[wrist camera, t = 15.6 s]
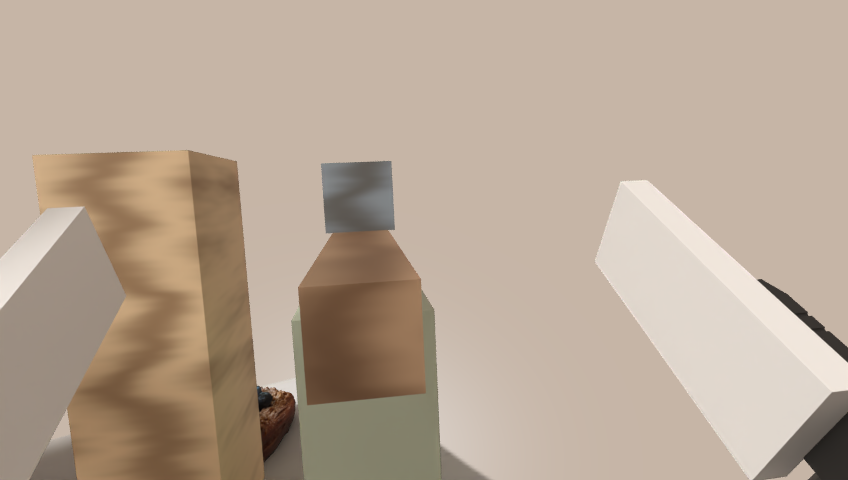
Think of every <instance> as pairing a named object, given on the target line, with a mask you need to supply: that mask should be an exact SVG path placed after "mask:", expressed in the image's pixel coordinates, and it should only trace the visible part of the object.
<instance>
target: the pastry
mask: <svg viewBox="0 0 848 480" xmlns="http://www.w3.org/2000/svg"><path fill="white" fill-rule="evenodd" d="M257 395H258V407H259V418H260V429H261V441H262V452H263V463H264V462H265V460H266V459H267V458H268V457H269V456H270V455H271V454H272V453H273V452H274V450H275V449H276V448H277V446H278V445H279V443H280V442H281V440H282V438H283V437H284V435H285V434H286V433H288V431H289V427H290V425H291V423H292V421H293V418H294V414H295V403H296V402H295V399H294V396H293V395H292V394H291V393H289V392H285V391H282V390H280V391H278V390H277V389H276V388H274V387H273V388H270V389H269V388H268V387H266V388H264V389H263V388H262V387H260V386H257Z"/></svg>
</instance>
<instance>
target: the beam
mask: <svg viewBox="0 0 848 480" xmlns="http://www.w3.org/2000/svg"><path fill="white" fill-rule="evenodd" d="M321 168H322V183H323V198H324V213H325V227H326V233H333V234H332V235H331V237H330V238H329V240H328V241H327V243H326V245H325V246H324V248H323V249H322V251H321V252H320V254H319V256H318V257H317V259H316V260H315V262H314V264H313V265H312V267H311V268H310V270H309V271H308V273H307V275H306V276H305V278H304V279H303V281H302V282H301V284H300V286H299V287H298V291H299V306H300V319H301V332H302V345H303V359H304V372H305V385H306V398H307V405H317V404H326V403H336V402H346V401H356V400H366V399H376V398H385V397H395V396H405V395H415V394H425V393H426V383H425V361H424V339H423V316H422V294H421V279H420V277H419V276H418V274H417V273H416V271H415V270H414V268H413V267H412V265H411V264H410V262H409V261H408V259H407V258H406V256H405V255H404V253H403V252H402V250H401V249H400V247H399V246H398V244H397V243H396V241H395V240H394V238H393V237H392V235H391V234H390V232H389V231H388V230H394V229H395V226H394V207H393V188H392V187H393V186H392V168H391V161H382V162H381V161H380V162H354V163H327V164H326V163H325V164H321Z"/></svg>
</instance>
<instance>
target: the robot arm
mask: <svg viewBox="0 0 848 480" xmlns="http://www.w3.org/2000/svg"><path fill="white" fill-rule="evenodd" d="M595 263H596V264H597V266H598V267H599V268H600V270H601V271H602V273H603V274H604V275H605V277H606V278H607V280H608V281H609V282H610V284H611V285H612V287H613V288H614V289H615V291H616V292H617V294H618V295H619V297H620V298H621V299H622V301H623V302H624V304H625V305H626V306H627V308H628V309H629V311H630V312H631V314H632V315H633V316H634V318H635V319H636V321H637V322H638V323H639V325H640V326H641V328H642V329H643V330H644V332H645V333H646V335H647V336H648V337H649V339H650V340H651V342H652V343H653V345H654V346H655V347H656V349H657V350H658V351H659V353H660V354H661V356H662V357H663V359H664V360H665V361H666V363H667V364H668V366H669V367H670V368H671V370H672V371H673V373H674V374H675V376H676V377H677V378H678V380H679V381H680V383H681V384H682V385H683V387H684V388H685V390H686V391H687V392H688V394H689V395H690V397H691V398H692V400H693V401H694V402H695V404H696V405H697V407H698V408H699V409H700V411H701V412H702V414H703V415H704V416H705V418H706V419H707V421H708V422H709V424H710V425H711V426H712V428H713V429H714V431H715V432H716V433H717V435H718V436H719V438H720V439H721V440H722V442H723V443H724V445H725V446H726V447H727V449H728V450H729V452H730V453H731V455H732V456H733V457H734V459H735V460H736V462H737V463H738V464H739V466H740V467H741V468H742V470H743V471H744V473H745V474H746V476H747V477H748V479H749V480H766V479H772V478H779V477H785V476H787V475H788V474H789V473H790V472H791V471H792V470H793V469H794V468H795V467H796V466H797V465H798V464H799V463H800V462H801V461H802V460H803V459H805V461H806V462H807V463H808V464H809V465H810V467H811V468H812V469H813V470H814V471H815V474H813V476H812V477H810V478H809V479H808V480H848V347H847V346H845V345H844V344H843V343H842V342H841V341H840V340H839V339H837V338H836V337H835V336H834V335H833V334H832V333H831V332H829V331H825V329H824V328H825V327H824V326H823V325H822V324H820V323H819V322H818V321H817V320H816V319H815V318H814V317H812V316H808V314H807V313H808V312H807V311H805V309H803V308H802V307H801V306H800V305H799V304H798V303H797V302H795V301H794V300H793V299H792V298H791V297H790V296H789V295H788V294H786V293H784V292H782V291H780V290H779V289H777V288H776V287H774V286H772V285H770V284H769V283H767V282H765V281H763V280H762V279H759V280H756V279H755V278H754V277H753V276H752V275H751V274H750V273H749V272H748V271H746V270H745V269H744V268H743V267H742V266H741V265H740V264H739V263H738V262H736V261H735V260H734V259H733V258H732V257H731V256H730V255H729V254H728V253H727V252H725V251H724V250H723V249H722V248H721V247H720V246H719V245H718V244H717V243H716V242H715V241H713V240H712V239H711V238H710V237H709V236H708V235H707V234H706V233H705V232H704V231H702V230H701V229H700V228H699V227H698V226H697V225H696V224H695V223H694V222H692V221H691V220H690V219H689V218H688V217H687V216H686V215H685V214H684V213H683V212H681V210H679V209H678V208H677V207H676V206H675V205H674V204H673V203H672V202H671V201H669V200H668V199H667V198H666V197H665V196H664V195H663V194H662V193H661V192H660V191H659V190H657V189H656V188H655V187H654V186H653V185H652V184H651V183H650V182H649V181H647V180H640V181H621V182H620V185H619V188H618V191H617V194H616V198H615V201H614V204H613V207H612V210H611V213H610V216H609V219H608V222H607V225H606V228H605V232H604V235H603V238H602V241H601V244H600V247H599V250H598V254H597V256H596V260H595ZM125 297H126V294H125V292H124V290H123V288H122V285H121V283H120V281H119V279H118V277H117V275H116V273H115V270H114V268H113V266H112V264H111V262H110V260H109V258H108V256H107V253H106V251H105V249H104V247H103V245H102V243H101V241H100V238H99V236H98V234H97V232H96V230H95V228H94V226H93V223H92V221H91V219H90V217H89V215H88V213H87V211H86V209H85V206H84V207H63V208H47V209H46V210H45V211H44V212H43V213H42V214H41V216H40V217H39V218H38V219H37V220H36V221H35V222H34V223H33V224H32V225H31V226H30V227H29V229H28V230H27V231H26V232H25V233H24V234H23V235H22V236H21V237H20V238H19V239H18V241H16V242H15V244H14V245H13V246H12V247H11V248H10V249H9V250H8V251H7V252H6V253H5V254H4V255H3V256H2V258H1V259H0V480H30V478H31V476H32V474H33V472H34V470H35V468H36V466H37V464H38V462H39V461H40V459H41V457H42V455H43V453H44V451H45V449H46V447H47V445H48V444H49V442H50V440H51V438H52V436H53V434H54V432H55V430H56V428H57V426H58V425H59V423H60V421H61V419H62V417H63V415H64V413H65V411H66V409H67V407H68V406H69V404H70V402H71V400H72V398H73V396H74V394H75V392H76V390H77V388H78V387H79V385H80V383H81V381H82V379H83V377H84V375H85V373H86V371H87V370H88V368H89V366H90V364H91V362H92V360H93V358H94V356H95V354H96V352H97V351H98V349H99V347H100V345H101V343H102V341H103V339H104V337H105V335H106V333H107V332H108V330H109V328H110V326H111V324H112V322H113V320H114V318H115V316H116V314H117V313H118V311H119V309H120V307H121V305H122V303H123V301H124V299H125Z"/></svg>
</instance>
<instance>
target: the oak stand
mask: <svg viewBox="0 0 848 480" xmlns="http://www.w3.org/2000/svg"><path fill="white" fill-rule="evenodd" d="M32 158H33V165H34V172H35V179H36V187H37V194H38V200H39V208H40V216H41V214H42V213H43V212H44V211H45V210H46V209H47V208H63V207H84V206H85V209H86V211H87V213H88V215H89V217H90V219H91V221H92V223H93V226H94V228H95V230H96V232H97V234H98V236H99V238H100V241H101V243H102V245H103V247H104V249H105V251H106V253H107V256H108V258H109V260H110V262H111V264H112V266H113V268H114V270H115V273H116V275H117V277H118V279H119V281H120V283H121V285H122V288H123V290H124V292H125V294H126V297H125V299H124V301H123V303H122V305H121V307H120V309H119V311H118V313H117V314H116V316H115V318H114V320H113V322H112V324H111V326H110V328H109V330H108V332H107V333H106V335H105V337H104V339H103V341H102V343H101V345H100V347H99V349H98V351H97V352H96V354H95V356H94V358H93V360H92V362H91V364H90V366H89V368H88V370H87V371H86V373H85V375H84V377H83V379H82V381H81V383H80V385H79V387H78V388H77V390H76V392H75V394H74V396H73V398H72V400H71V402H70V404H69V406H68V407H67V410H68V418H69V425H70V432H71V440H72V447H73V454H74V461H75V468H76V476H77V480H263V479H264V476H265V474H264V463H263V452H262V441H261V429H260V418H259V407H258V395H257V384H256V374H255V362H254V350H253V339H252V328H251V317H250V305H249V294H248V282H247V271H246V260H245V249H244V237H243V226H242V216H241V203H240V193H239V181H238V170H237V161H232V160H228V159H224V158H220V157H215V156H211V155H206V154H202V153H198V152H193V151H189V150H181V151H151V152H150V151H149V152H120V153H119V152H117V153H84V154H52V155H33V156H32Z"/></svg>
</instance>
